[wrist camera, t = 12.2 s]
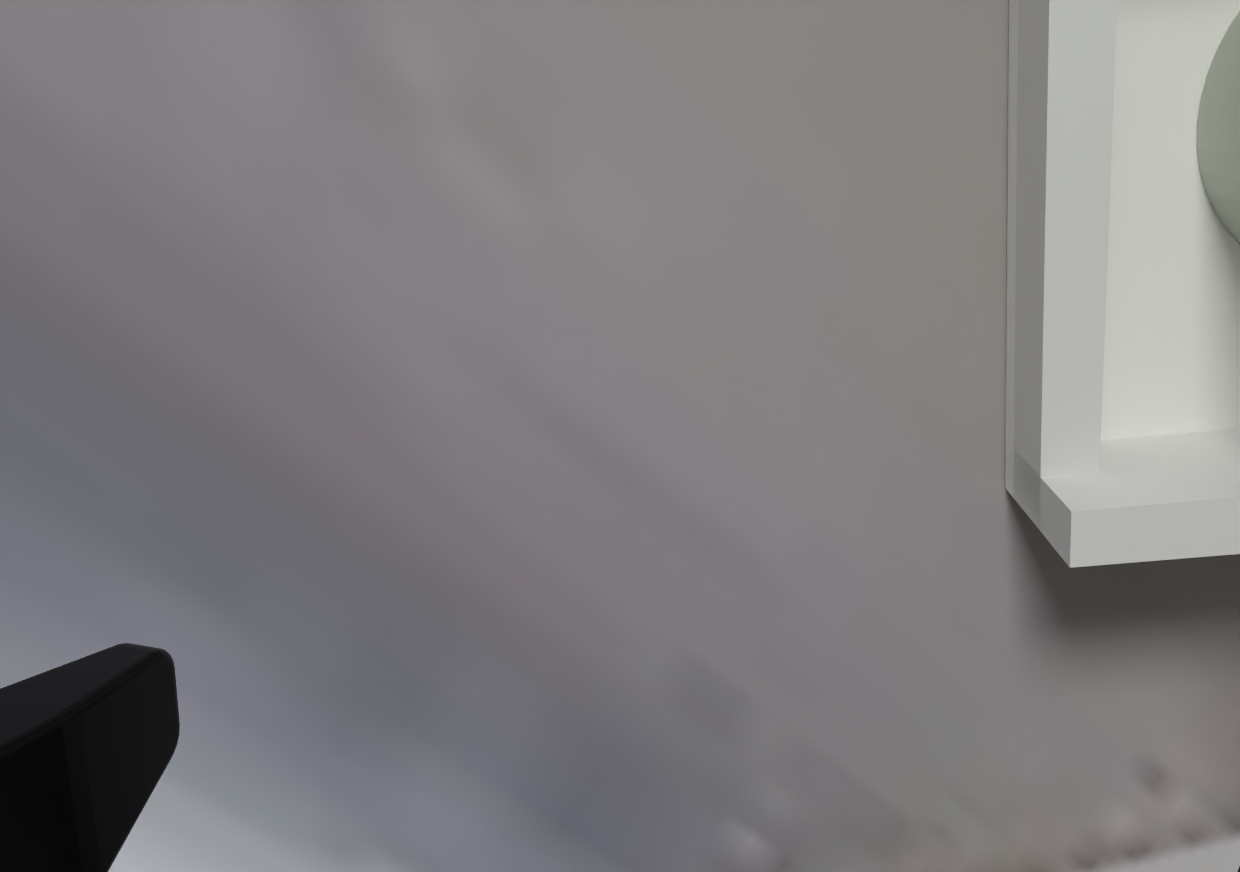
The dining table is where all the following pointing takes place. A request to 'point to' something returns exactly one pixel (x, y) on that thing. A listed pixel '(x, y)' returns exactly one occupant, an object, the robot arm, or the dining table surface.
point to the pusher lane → (1119, 285)
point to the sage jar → (1222, 131)
